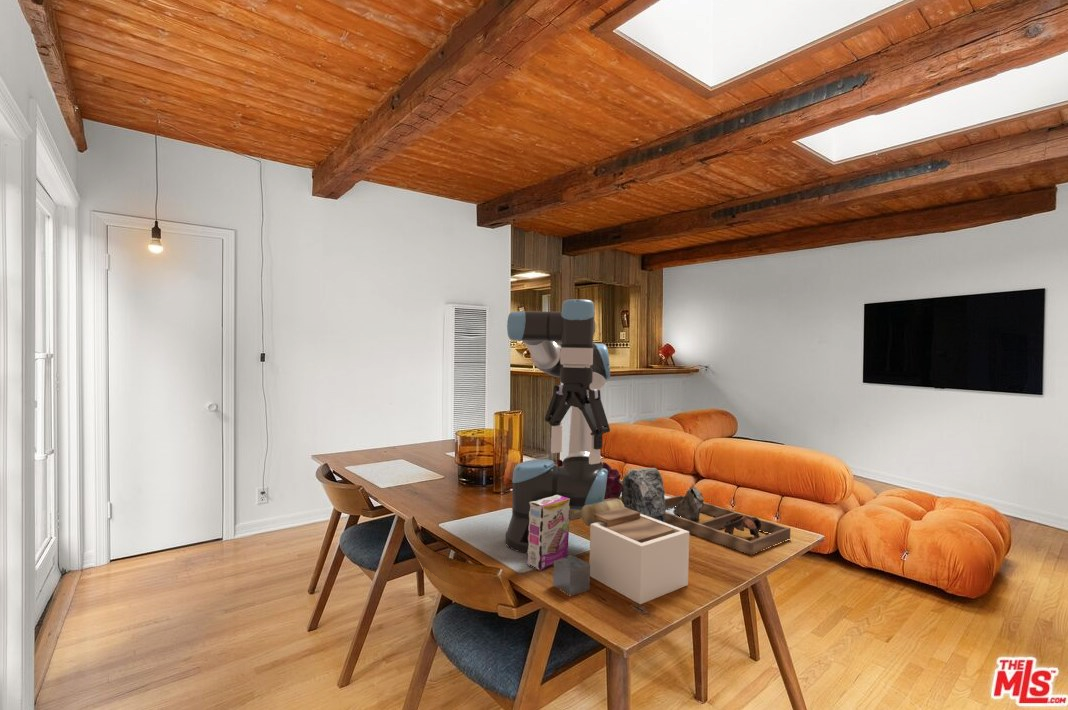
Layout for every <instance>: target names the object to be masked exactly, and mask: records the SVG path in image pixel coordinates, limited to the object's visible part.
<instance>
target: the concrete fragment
mask: <svg viewBox="0 0 1068 710" xmlns="http://www.w3.org/2000/svg"><path fill="white" fill-rule="evenodd" d="M683 496H684V498H683V500H681V501H680V502H679V503H678V504H677V506H676V507H674V508H673V509H674V510H673V513H674V514H675V513H676V514H678V515H679V516H681V517H682V518H685V519H688V520H691V521H693V522H694V521H698V520H700V515H701V512H700V511H701V510H702V507H703V504H704V502H705V499H704V498H703V493H702V492H701V491H700V489H698V488H697V487H696V486H691V487H690V488H689V489H688V490H687V491H686V493H685V495H683ZM676 514H675V515H676ZM678 515H677V516H678Z"/></svg>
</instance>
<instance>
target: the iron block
mask: <svg viewBox="0 0 1068 710" xmlns="http://www.w3.org/2000/svg"><path fill="white" fill-rule="evenodd" d="M590 577H591V576H590V562H587V561H585V560H583V559H581V558H579V557H577V556H576V555H570V556H569V555H568V557H566V558H562V559H559V560H556V561H554V565H553V581H552V582H553V583H552V586H553V585H554V586H556V587H557V588H559V589H561V590H562V591H564V592H565V593H566V594H568V595H573V596H575V595H574V594H576V595H578V593H579V594H581V593H584V592H587V591H590V589H591V588H590V587H591V586H590V585H591V583H590V582H591V578H590ZM554 586H553V587H554ZM557 588H556V589H557ZM559 589H558V590H559ZM562 591H561V592H562ZM565 593H564V594H565ZM566 594H565V595H566ZM568 595H567V596H568Z"/></svg>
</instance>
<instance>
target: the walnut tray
mask: <svg viewBox="0 0 1068 710" xmlns="http://www.w3.org/2000/svg"><path fill="white" fill-rule="evenodd" d="M684 496H685V495H680V494H679V495H675V496H671V497H667V498H666V497H665V501H666V509H667V510H669V509H668V508H671V509H673V508H672V507H674V508H675V506H677V504H678V503H679V502H680V501H681V500H683V498H684ZM701 512H703V513H702V514H705V515H708V516H711V517H714V516H715V517H714V518H709V519H707V520H704V521H700V522H697V521H694V520H693V521H691V520H688V519H685V518H682V517H679V516H678V515H676V514H673V513H670V512H666V511H665V514H666V519H665V521H664V522H665V523H667V524H670V525H673V526H676V527H678V528H681V529H684V530H686V531H689V534H690V535H694V536H697V537H699V538H702V539H706V540H708V541H710V542H713V543H715V542H716V544H718V543H719V545H721V544H722V546H724V545H725V546H724V547H726V546H727V548H729V547H730V549H732V548H733V549H732V550H734V549H736V550H735V551H737V550H739V551H738V552H740V551H741V553H742V552H744V553H743V554H745V553H747V554H746V555H748V554H750V555H749V556H751V555H752V554H754V553H756V552H759V551H761V550H763V549H766V548H768V547H770V546H773V545H775V544H778V543H780V542H783V541H785V540H787V539H790V540H791V527H788V526H784V525H780V524H777V523H774V522H770V521H767V520H764V519H761V518H758V519H759V520H760V522H761V528H760V530H761V531H764V532H768V533H771V534H764V535H763V536H759V537H760V538H757V539H754V540H752V541H751V540H748V539H746V538H743V537H740V536H736V535H734V534H729V533H725V531H722V529H725V527H724V525H723V524H724V523H725V522H727V521H728V523H731V522H730V519H732V518H734V517H737V516H740V515H746V517H747V519H750V518H752V517H753V516H751V515H747V514H744V513H741V512H738V511H734V510H731V509H728V508H724V507H721V506H717V505H715V504H711V503H708V502H705V501H704V504H703V507H702V510H701V511H700V513H701ZM754 524H755V523H754ZM743 526H744V527H745V526H746V524H744V525H743ZM721 528H722V529H721ZM759 553H760V552H759ZM754 555H755V554H754ZM752 556H753V555H752Z"/></svg>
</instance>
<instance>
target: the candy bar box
mask: <svg viewBox="0 0 1068 710" xmlns="http://www.w3.org/2000/svg"><path fill="white" fill-rule="evenodd" d="M569 512H570V498H567V497H564V496H560V495H554V496H551V497H547V498H543V499H540V500H536V501H532V502H529V528H528V553H527V554H526V555H527V559H526V560H527V561H526V565H527V564H528V565H530V566H532V567H531V568H533V567H534V568H533V569H535V568H536V569H535V570H537V569H538V571H540V572H541V571H542V570H544V569H547V568H549V567H551V565H552V566H554V561H556V560H559V559H562V558H566V557H569V537H570V535H569V533H570V519H569ZM528 565H527V566H528ZM530 566H529V567H530Z"/></svg>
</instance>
